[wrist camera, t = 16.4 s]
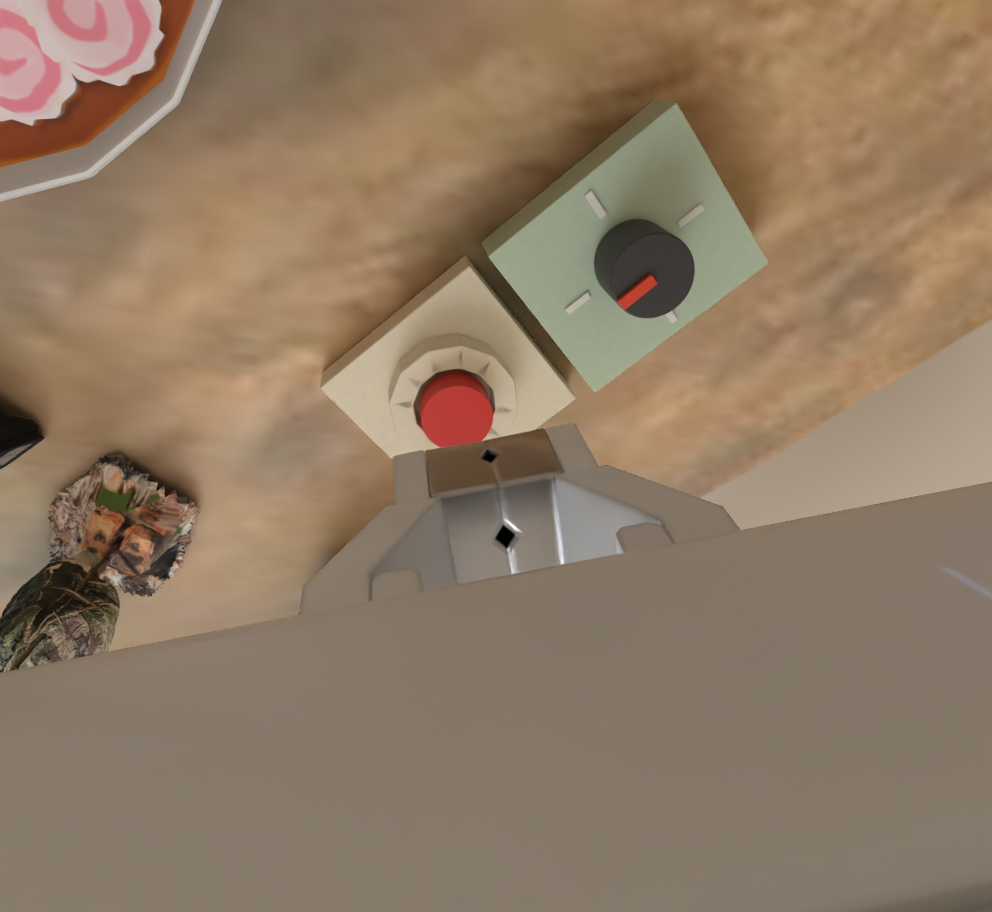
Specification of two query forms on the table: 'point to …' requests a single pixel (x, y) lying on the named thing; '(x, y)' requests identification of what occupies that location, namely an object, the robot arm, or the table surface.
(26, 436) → the electric trimmer
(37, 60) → the ramen bowl
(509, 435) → the robot arm
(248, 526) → the table surface
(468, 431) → the power button
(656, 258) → the dial
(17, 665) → the grey mottled tall figure
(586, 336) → the dial panel
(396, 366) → the switch box
